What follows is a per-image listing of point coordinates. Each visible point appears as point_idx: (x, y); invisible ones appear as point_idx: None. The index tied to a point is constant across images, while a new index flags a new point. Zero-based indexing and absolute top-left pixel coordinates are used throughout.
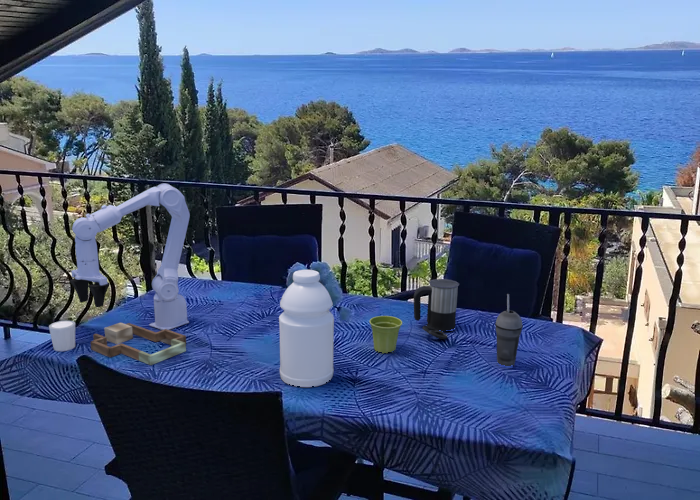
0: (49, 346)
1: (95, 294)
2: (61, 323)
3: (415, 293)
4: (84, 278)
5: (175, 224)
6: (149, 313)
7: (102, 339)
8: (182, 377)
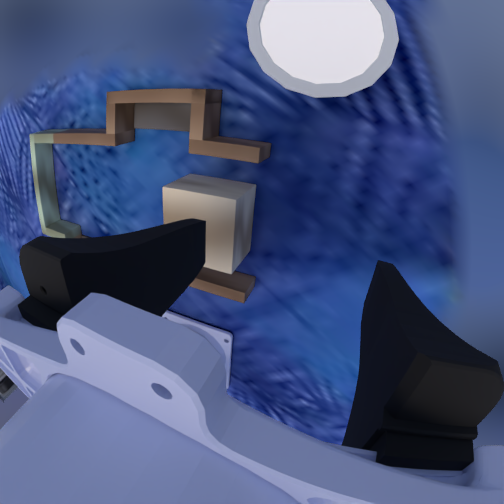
0: (398, 35)
1: (99, 238)
2: (344, 38)
3: (2, 385)
4: (60, 344)
5: None
6: (309, 401)
7: (190, 134)
8: (4, 134)
